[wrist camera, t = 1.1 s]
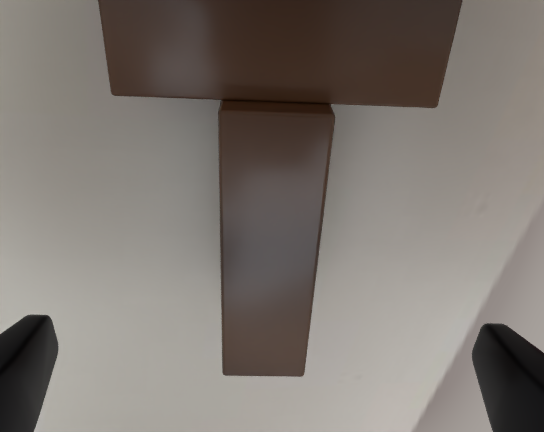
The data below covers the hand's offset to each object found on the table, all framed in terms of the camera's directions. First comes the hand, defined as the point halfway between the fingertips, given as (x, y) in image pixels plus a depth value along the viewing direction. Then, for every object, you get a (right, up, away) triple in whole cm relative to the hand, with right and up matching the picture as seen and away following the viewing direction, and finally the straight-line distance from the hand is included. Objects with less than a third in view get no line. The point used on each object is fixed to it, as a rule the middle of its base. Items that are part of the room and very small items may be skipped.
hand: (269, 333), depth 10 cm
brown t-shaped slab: (0, +5, +4) cm, 6 cm away
